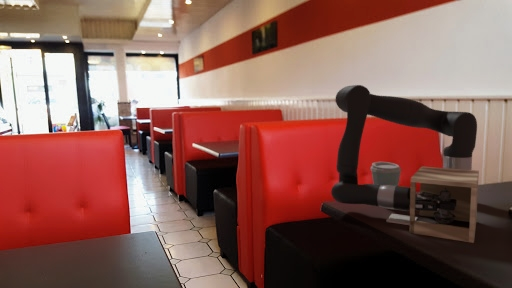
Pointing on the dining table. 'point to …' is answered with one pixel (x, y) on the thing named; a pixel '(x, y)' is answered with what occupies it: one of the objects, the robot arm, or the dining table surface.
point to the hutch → (461, 189)
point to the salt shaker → (442, 214)
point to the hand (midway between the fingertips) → (455, 204)
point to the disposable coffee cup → (385, 173)
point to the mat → (400, 219)
